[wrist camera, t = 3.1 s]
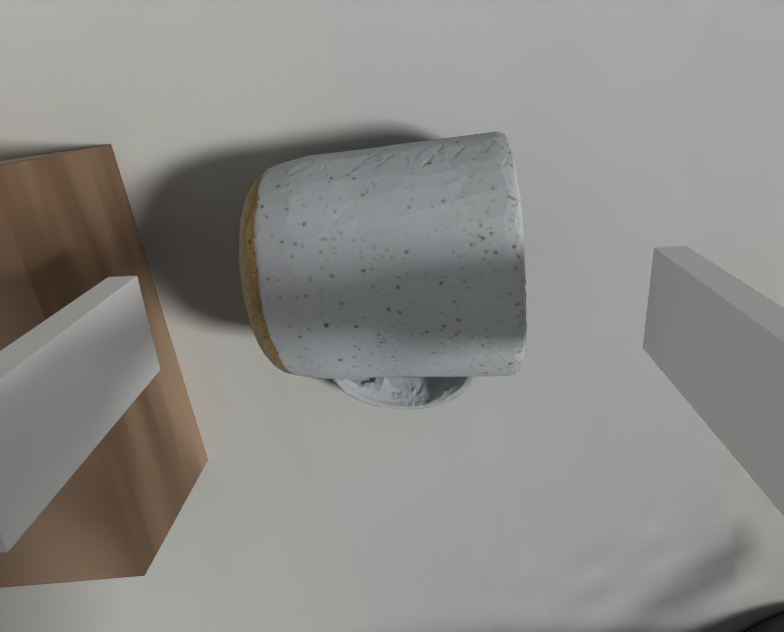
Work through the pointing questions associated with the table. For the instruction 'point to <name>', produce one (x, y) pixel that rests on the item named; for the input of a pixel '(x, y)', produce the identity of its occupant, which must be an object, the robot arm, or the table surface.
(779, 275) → the table surface
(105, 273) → the walnut block
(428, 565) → the table surface
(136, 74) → the table surface
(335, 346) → the ceramic mug
